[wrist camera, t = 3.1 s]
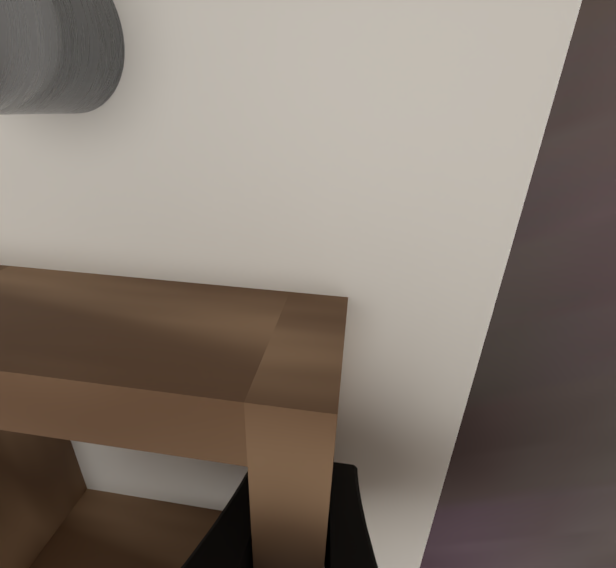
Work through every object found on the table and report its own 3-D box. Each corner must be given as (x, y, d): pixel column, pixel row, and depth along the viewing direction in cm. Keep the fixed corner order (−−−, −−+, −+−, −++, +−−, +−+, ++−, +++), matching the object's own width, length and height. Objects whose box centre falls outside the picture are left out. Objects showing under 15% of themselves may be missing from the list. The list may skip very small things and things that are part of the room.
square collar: (325, 552, 14) (311, 703, 10) (62, 506, 15) (-31, 628, 12) (348, 297, 9) (337, 414, 6) (-37, 261, 11) (-244, 340, 7)
